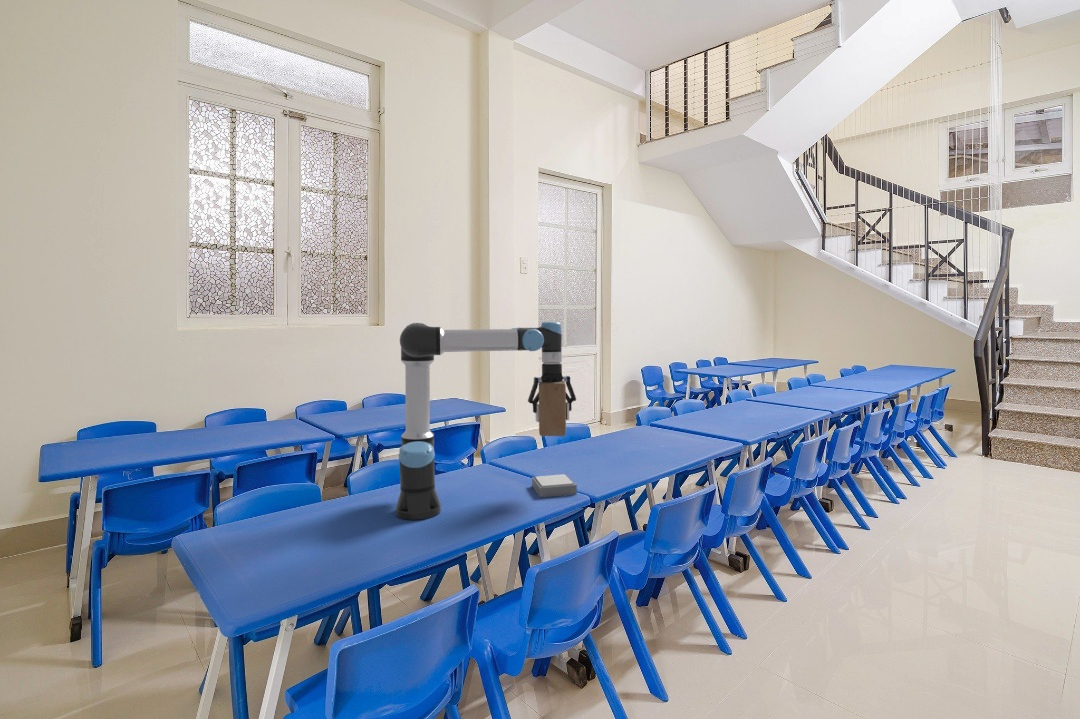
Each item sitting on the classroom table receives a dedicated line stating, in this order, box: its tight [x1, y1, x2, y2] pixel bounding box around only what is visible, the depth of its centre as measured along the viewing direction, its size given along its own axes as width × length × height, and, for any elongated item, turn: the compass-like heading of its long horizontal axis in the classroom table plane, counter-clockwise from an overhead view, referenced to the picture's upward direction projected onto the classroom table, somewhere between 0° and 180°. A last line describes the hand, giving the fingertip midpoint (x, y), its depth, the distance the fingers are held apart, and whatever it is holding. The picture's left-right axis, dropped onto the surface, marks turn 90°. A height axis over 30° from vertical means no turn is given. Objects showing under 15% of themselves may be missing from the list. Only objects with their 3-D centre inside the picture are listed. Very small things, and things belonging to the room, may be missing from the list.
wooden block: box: [538, 379, 567, 437], centre depth 217 cm, size 10×10×20 cm
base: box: [531, 473, 578, 498], centre depth 220 cm, size 14×14×4 cm
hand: (552, 420), depth 218 cm, fingers closed on wooden block, 11 cm apart
